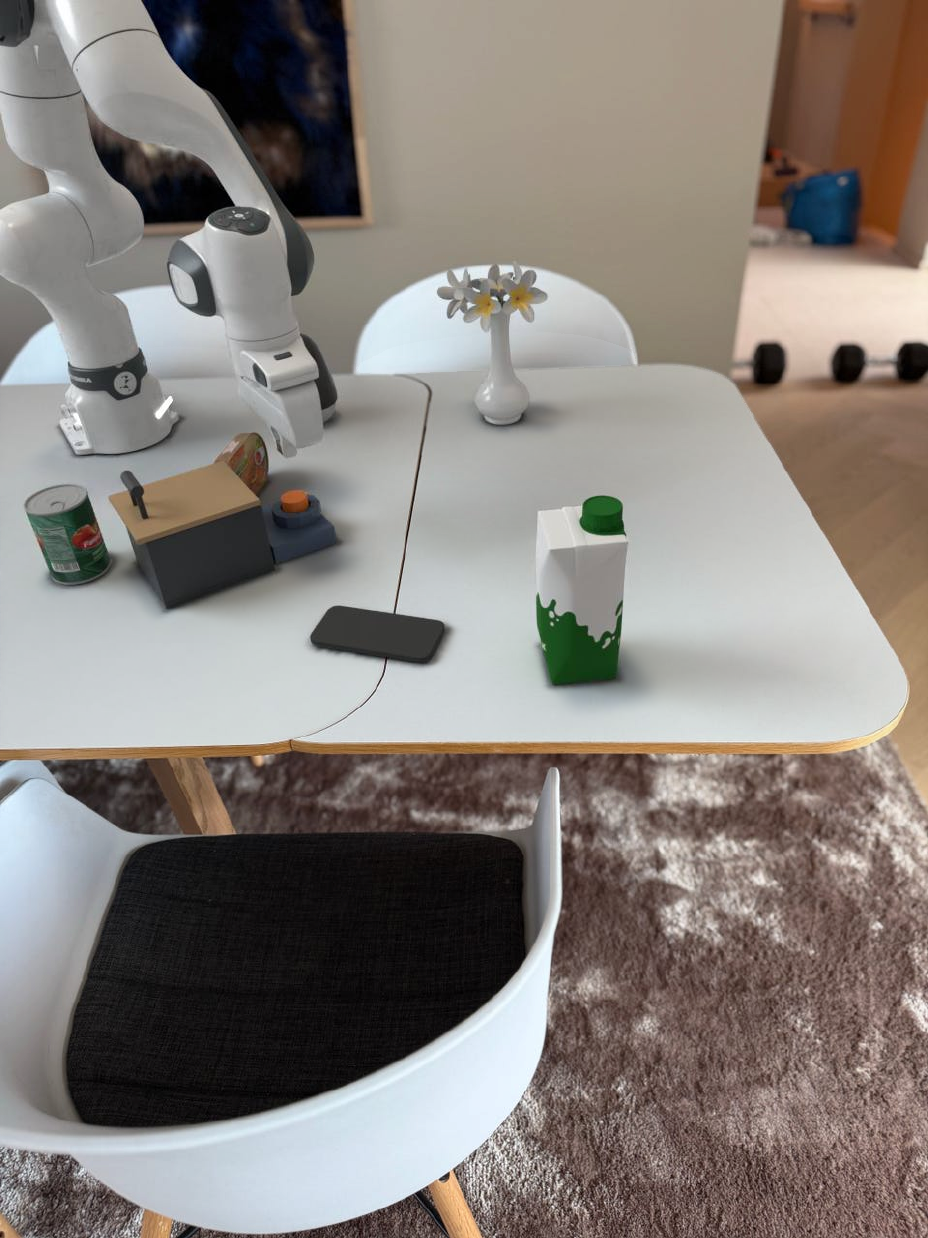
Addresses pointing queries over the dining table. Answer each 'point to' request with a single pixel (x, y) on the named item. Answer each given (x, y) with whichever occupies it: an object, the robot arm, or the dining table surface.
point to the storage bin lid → (180, 501)
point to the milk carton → (581, 589)
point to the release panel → (297, 530)
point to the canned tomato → (68, 533)
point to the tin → (247, 459)
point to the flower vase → (496, 333)
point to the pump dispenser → (322, 379)
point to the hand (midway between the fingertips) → (287, 453)
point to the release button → (294, 501)
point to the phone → (378, 633)
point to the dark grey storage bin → (206, 557)
